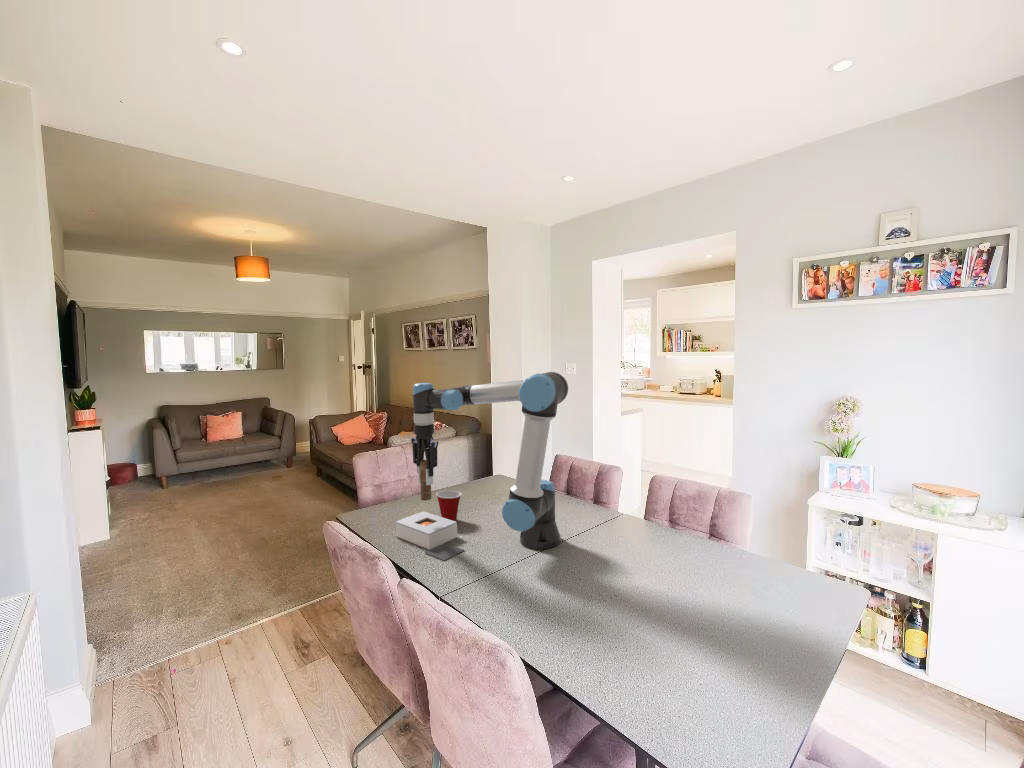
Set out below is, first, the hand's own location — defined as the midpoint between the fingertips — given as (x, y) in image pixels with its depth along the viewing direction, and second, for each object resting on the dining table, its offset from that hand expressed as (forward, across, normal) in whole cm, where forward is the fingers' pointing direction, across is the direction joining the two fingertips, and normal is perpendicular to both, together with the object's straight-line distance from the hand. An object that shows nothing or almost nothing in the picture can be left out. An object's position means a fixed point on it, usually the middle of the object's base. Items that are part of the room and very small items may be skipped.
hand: (425, 483), depth 181 cm
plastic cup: (+22, +5, -17) cm, 28 cm away
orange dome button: (+19, 0, 0) cm, 19 cm away
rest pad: (+21, -16, +5) cm, 27 cm away
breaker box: (+21, 0, 0) cm, 21 cm away
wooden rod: (+6, 0, 0) cm, 6 cm away
